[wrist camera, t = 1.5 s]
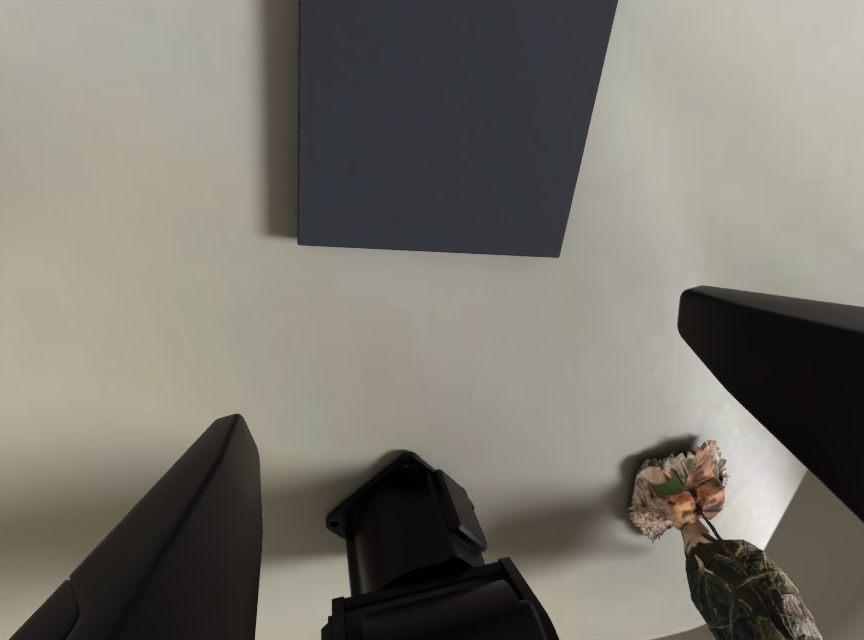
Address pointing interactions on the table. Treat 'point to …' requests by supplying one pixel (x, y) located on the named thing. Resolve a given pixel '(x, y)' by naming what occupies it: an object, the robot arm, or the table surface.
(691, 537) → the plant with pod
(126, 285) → the table surface
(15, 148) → the table surface
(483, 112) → the desk pad
